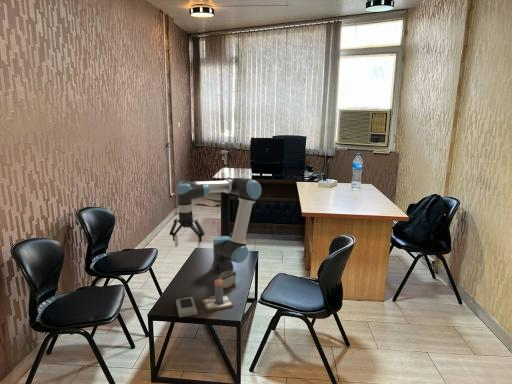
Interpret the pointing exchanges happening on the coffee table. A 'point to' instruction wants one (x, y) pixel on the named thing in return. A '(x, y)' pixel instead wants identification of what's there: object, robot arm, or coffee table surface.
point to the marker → (218, 291)
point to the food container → (228, 280)
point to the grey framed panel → (186, 307)
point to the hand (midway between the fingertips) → (187, 246)
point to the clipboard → (212, 306)
